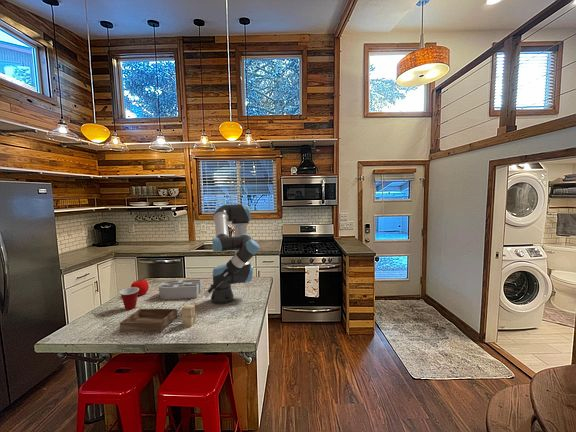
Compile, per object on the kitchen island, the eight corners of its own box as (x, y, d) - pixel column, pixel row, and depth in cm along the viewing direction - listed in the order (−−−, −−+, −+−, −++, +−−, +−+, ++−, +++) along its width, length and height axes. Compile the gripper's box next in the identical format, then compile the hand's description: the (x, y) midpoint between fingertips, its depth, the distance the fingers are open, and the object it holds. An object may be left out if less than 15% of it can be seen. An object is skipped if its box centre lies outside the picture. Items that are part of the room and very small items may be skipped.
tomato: (149, 295, 196) (149, 280, 195) (131, 298, 190) (130, 283, 189) (147, 290, 206) (146, 276, 205) (130, 293, 200) (129, 278, 199)
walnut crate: (140, 316, 160) (140, 308, 159) (177, 317, 159) (176, 308, 158) (120, 332, 142) (119, 322, 141) (161, 332, 141) (160, 323, 140)
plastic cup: (119, 313, 165) (117, 294, 164) (121, 306, 175) (120, 288, 174) (139, 310, 170) (138, 291, 169) (140, 304, 180) (139, 286, 179)
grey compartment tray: (197, 298, 189) (196, 286, 188) (155, 300, 186) (154, 288, 185) (202, 290, 205) (202, 279, 205) (164, 292, 203) (163, 280, 202)
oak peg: (186, 322, 152) (185, 304, 151) (195, 322, 151) (194, 305, 151) (182, 326, 147) (181, 308, 146) (191, 326, 146) (190, 308, 146)
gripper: (235, 274, 133) (206, 305, 134) (245, 263, 157) (221, 288, 159) (224, 264, 133) (195, 294, 134) (236, 254, 157) (211, 280, 159)
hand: (209, 291), depth 146 cm, fingers open, 13 cm apart
